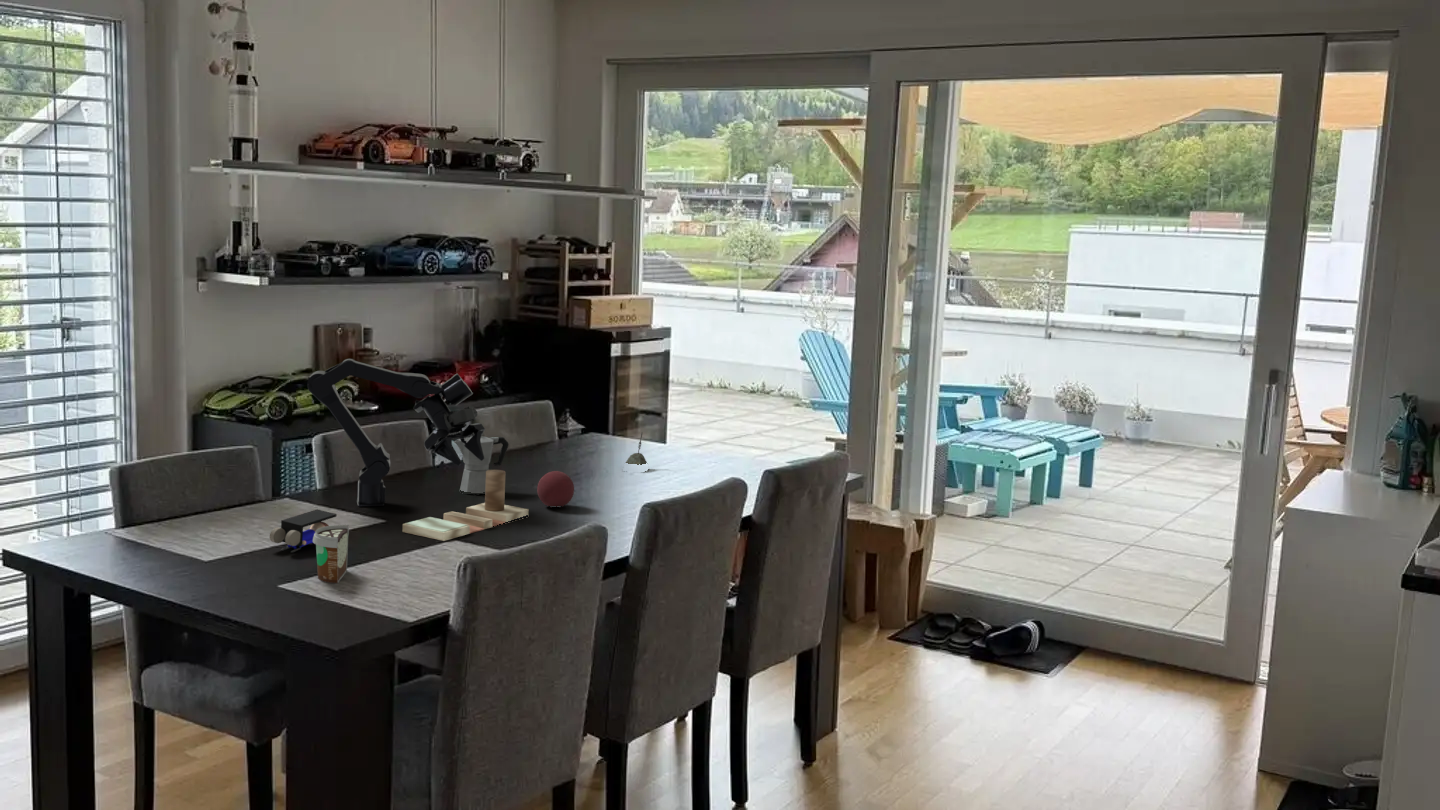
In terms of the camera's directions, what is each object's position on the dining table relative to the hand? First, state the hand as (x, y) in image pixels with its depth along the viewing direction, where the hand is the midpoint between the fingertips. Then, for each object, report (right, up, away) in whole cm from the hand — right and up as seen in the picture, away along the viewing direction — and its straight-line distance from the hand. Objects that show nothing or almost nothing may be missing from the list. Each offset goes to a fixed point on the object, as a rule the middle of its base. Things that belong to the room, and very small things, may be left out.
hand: (471, 462), depth 334 cm
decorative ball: (+20, -13, +13) cm, 27 cm away
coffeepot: (-3, -10, +27) cm, 29 cm away
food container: (-18, -22, -63) cm, 69 cm away
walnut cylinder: (+6, -12, -2) cm, 14 cm away
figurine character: (-31, -18, -41) cm, 54 cm away
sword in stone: (+38, -6, +71) cm, 81 cm away
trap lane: (+1, -15, -11) cm, 19 cm away
